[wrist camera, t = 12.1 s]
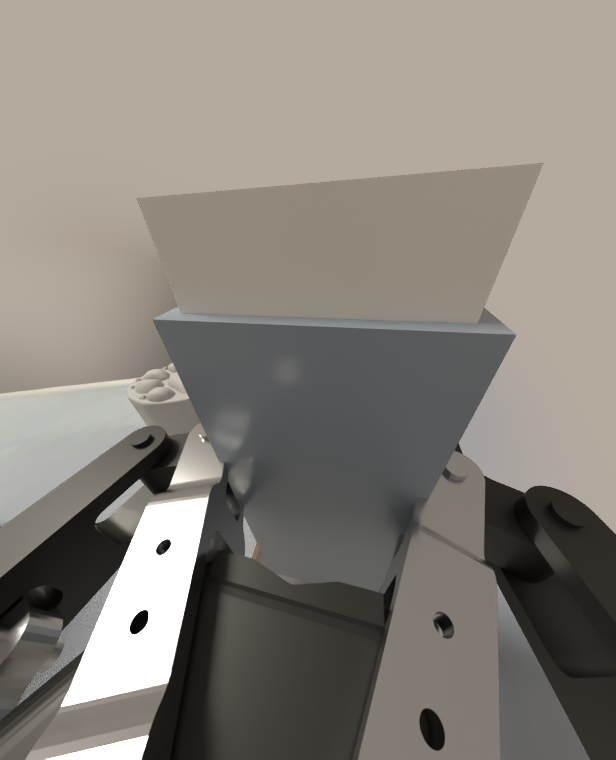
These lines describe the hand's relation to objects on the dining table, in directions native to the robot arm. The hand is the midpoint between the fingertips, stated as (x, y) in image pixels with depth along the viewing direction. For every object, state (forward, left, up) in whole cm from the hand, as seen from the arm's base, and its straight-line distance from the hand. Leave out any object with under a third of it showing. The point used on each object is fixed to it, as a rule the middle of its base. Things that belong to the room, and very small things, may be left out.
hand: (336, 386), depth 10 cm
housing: (0, -3, -8) cm, 8 cm away
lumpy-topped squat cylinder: (-28, +15, -22) cm, 39 cm away
